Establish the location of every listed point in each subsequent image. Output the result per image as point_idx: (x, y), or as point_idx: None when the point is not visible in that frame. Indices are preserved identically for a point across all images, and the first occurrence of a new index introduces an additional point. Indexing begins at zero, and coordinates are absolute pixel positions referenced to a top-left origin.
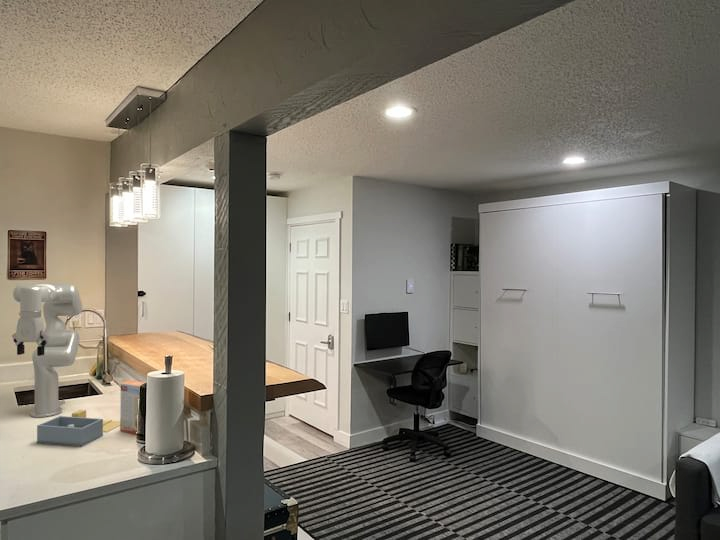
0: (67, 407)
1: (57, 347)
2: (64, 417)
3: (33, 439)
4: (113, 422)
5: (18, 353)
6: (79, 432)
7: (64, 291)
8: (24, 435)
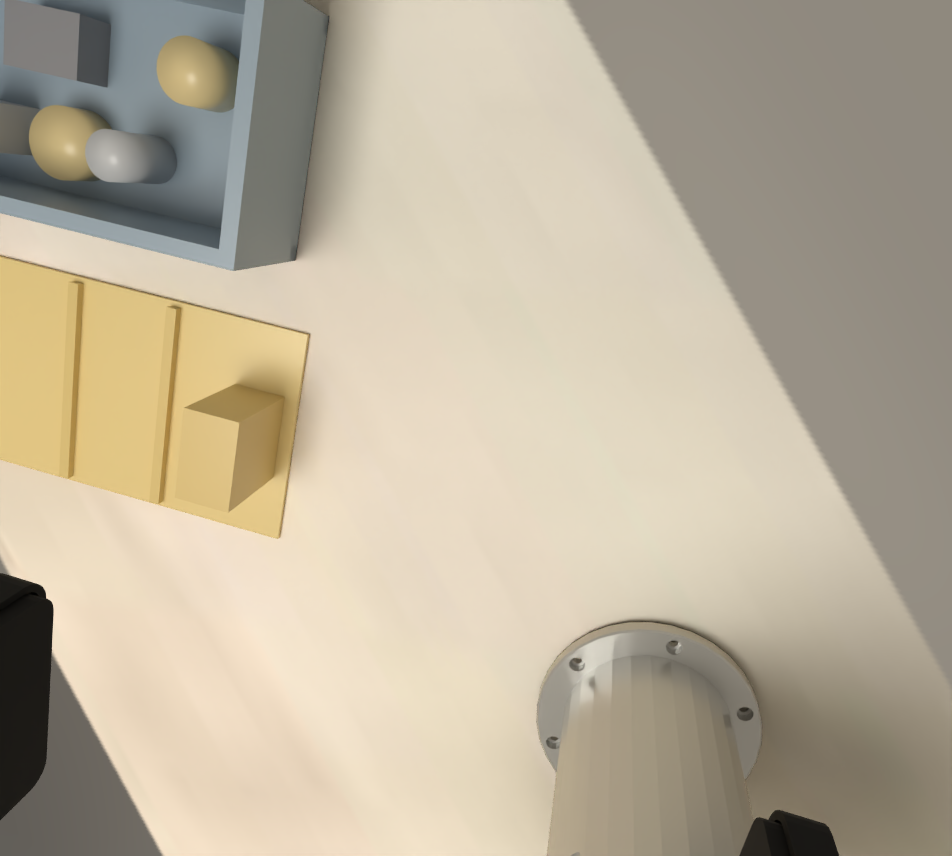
0: None
1: None
2: (180, 238)
3: (404, 101)
4: (40, 445)
5: (781, 848)
6: None
7: None
8: (529, 199)
